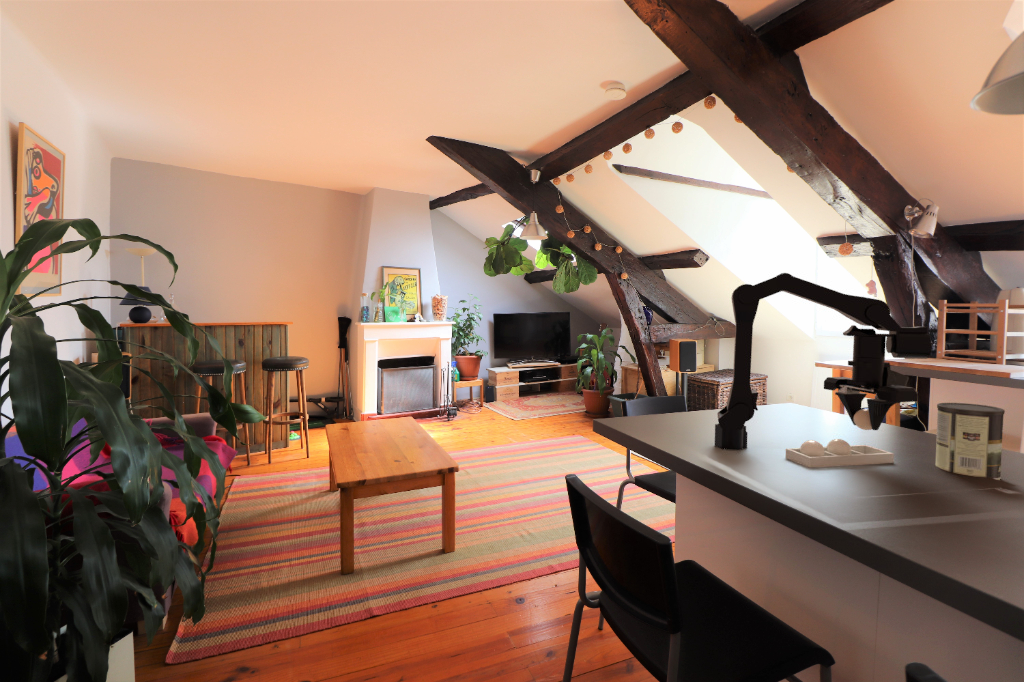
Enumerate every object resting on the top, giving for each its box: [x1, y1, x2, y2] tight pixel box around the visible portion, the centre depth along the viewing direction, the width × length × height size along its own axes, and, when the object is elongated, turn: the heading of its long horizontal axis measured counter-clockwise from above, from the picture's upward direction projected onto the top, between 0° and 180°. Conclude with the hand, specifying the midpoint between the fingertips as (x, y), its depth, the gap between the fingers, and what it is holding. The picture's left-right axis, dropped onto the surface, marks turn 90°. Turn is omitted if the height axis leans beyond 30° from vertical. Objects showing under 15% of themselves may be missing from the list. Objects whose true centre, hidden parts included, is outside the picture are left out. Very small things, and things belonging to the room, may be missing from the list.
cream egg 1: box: [799, 439, 825, 457], centre depth 110 cm, size 5×5×5 cm
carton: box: [785, 444, 895, 468], centre depth 111 cm, size 20×7×3 cm, turn 100°
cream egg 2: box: [826, 438, 852, 455], centre depth 111 cm, size 5×5×5 cm
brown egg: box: [854, 408, 872, 431], centre depth 111 cm, size 5×5×5 cm
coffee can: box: [935, 402, 1006, 481], centre depth 104 cm, size 10×10×14 cm
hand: (865, 427), depth 112 cm, fingers closed on brown egg, 4 cm apart
